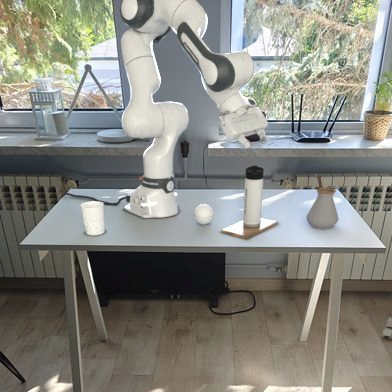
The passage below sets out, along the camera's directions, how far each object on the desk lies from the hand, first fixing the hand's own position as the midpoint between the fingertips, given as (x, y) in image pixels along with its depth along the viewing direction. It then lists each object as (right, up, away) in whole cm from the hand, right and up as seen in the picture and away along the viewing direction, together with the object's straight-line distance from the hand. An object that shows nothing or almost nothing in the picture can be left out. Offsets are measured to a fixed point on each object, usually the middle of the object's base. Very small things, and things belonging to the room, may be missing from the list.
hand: (257, 144), depth 167 cm
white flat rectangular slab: (-1, -24, +15) cm, 28 cm away
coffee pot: (+25, -20, +21) cm, 39 cm away
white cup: (-57, -26, +13) cm, 64 cm away
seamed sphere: (-18, -22, +18) cm, 34 cm away
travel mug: (0, -23, +16) cm, 28 cm away
